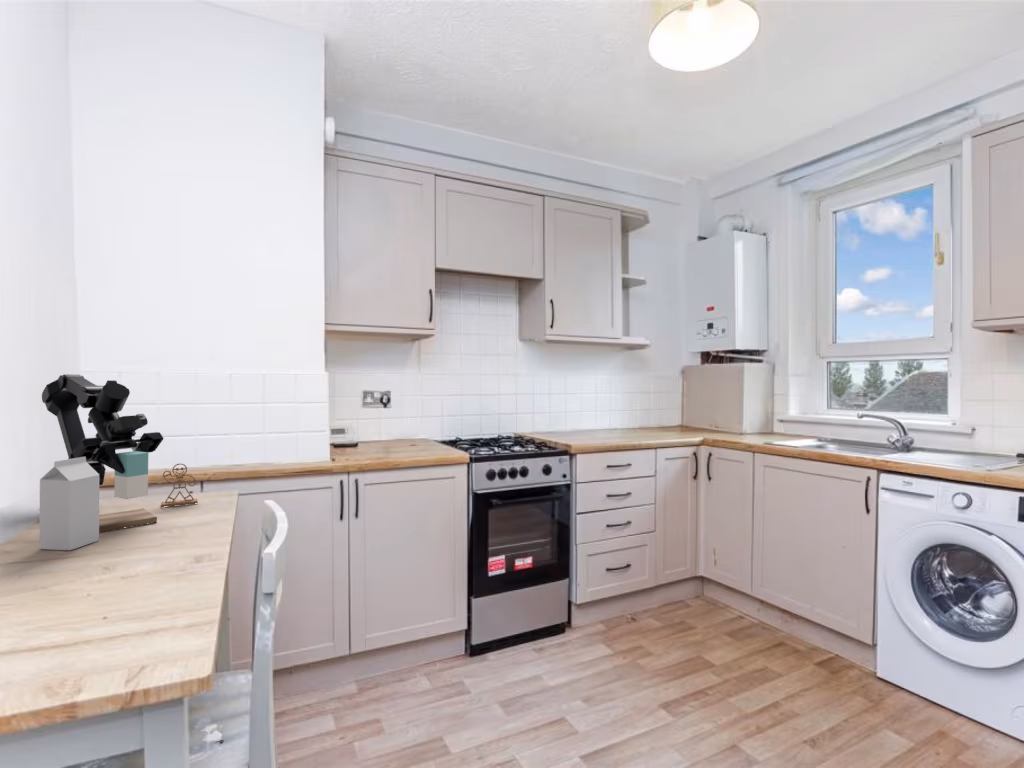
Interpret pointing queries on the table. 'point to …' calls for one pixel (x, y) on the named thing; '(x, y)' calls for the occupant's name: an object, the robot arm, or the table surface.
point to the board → (125, 519)
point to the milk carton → (69, 505)
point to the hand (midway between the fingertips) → (134, 470)
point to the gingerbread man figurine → (179, 502)
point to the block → (132, 475)
